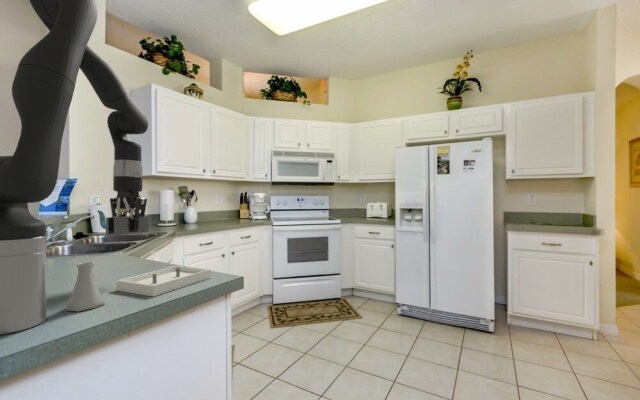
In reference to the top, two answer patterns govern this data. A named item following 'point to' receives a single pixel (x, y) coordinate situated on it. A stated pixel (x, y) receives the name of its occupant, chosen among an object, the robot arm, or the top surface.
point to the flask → (85, 290)
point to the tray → (162, 280)
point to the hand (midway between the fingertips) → (128, 231)
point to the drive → (125, 225)
